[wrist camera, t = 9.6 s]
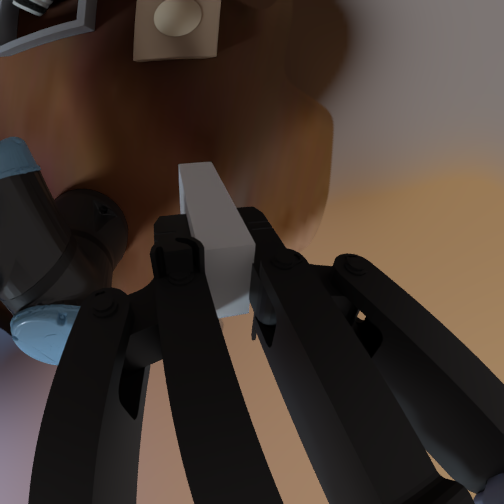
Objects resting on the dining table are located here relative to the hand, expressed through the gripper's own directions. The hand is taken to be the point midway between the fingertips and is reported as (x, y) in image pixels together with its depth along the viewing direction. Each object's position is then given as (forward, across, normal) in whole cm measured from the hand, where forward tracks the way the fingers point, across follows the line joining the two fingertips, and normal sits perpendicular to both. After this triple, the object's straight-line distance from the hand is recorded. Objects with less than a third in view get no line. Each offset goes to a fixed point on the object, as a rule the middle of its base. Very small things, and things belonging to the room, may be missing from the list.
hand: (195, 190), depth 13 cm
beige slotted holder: (+28, 0, +17) cm, 33 cm away
